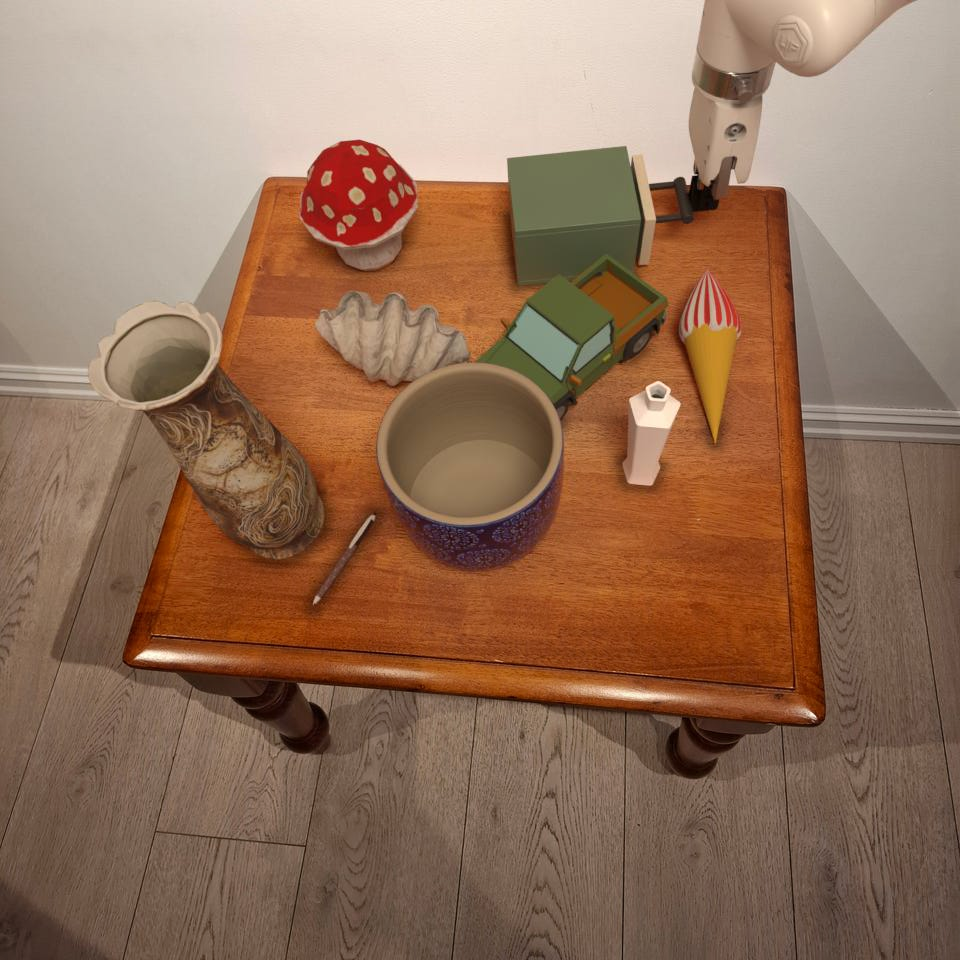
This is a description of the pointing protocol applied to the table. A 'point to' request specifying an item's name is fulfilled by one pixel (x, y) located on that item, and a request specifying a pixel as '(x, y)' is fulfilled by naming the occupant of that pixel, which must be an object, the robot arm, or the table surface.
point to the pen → (345, 557)
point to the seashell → (391, 337)
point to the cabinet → (571, 212)
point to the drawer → (648, 210)
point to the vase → (210, 427)
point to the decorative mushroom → (358, 203)
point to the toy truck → (579, 330)
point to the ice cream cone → (710, 343)
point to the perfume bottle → (648, 432)
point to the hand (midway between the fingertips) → (701, 205)
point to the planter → (473, 464)
